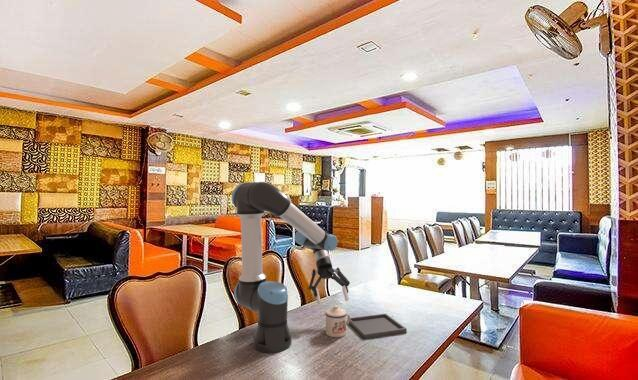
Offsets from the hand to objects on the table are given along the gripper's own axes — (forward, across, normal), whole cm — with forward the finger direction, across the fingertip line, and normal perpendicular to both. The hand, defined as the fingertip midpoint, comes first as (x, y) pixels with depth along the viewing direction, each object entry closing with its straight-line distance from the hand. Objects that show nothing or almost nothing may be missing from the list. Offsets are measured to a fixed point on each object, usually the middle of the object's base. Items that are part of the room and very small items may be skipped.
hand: (333, 301), depth 144 cm
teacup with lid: (+13, 0, -3) cm, 13 cm away
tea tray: (+13, -18, -2) cm, 22 cm away
